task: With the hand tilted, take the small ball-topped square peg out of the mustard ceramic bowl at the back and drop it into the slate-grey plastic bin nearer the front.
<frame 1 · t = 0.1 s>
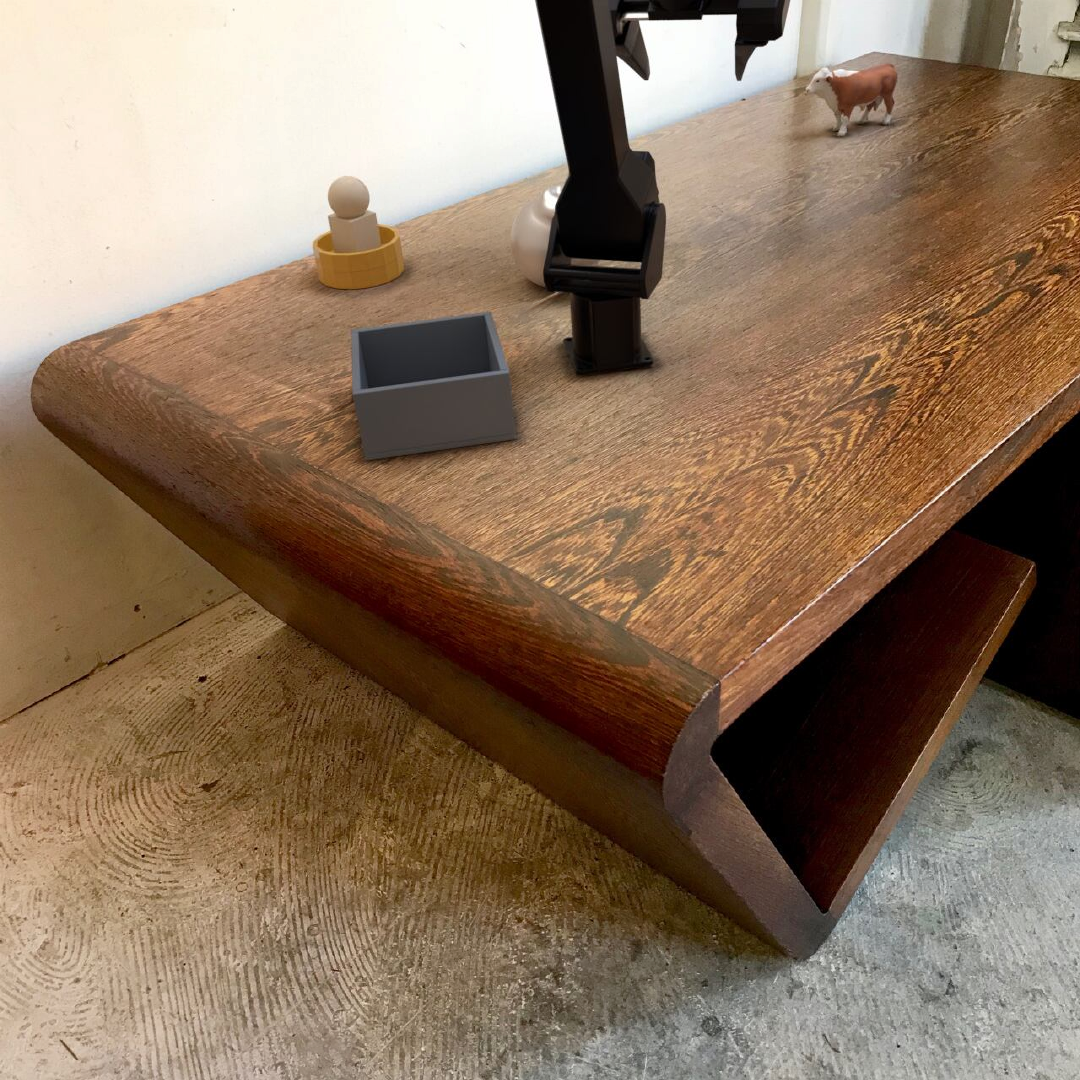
hand: (693, 77, 103), 15 cm above the table, tool tilted 35°, fingers open, 9 cm apart
bin: (435, 414, 82), on the table
ghost figurine: (562, 288, 101), on the table
bull figurine: (850, 131, 137), on the table
ball-topped square peg: (362, 272, 106), resting on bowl
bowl: (362, 277, 107), on the table
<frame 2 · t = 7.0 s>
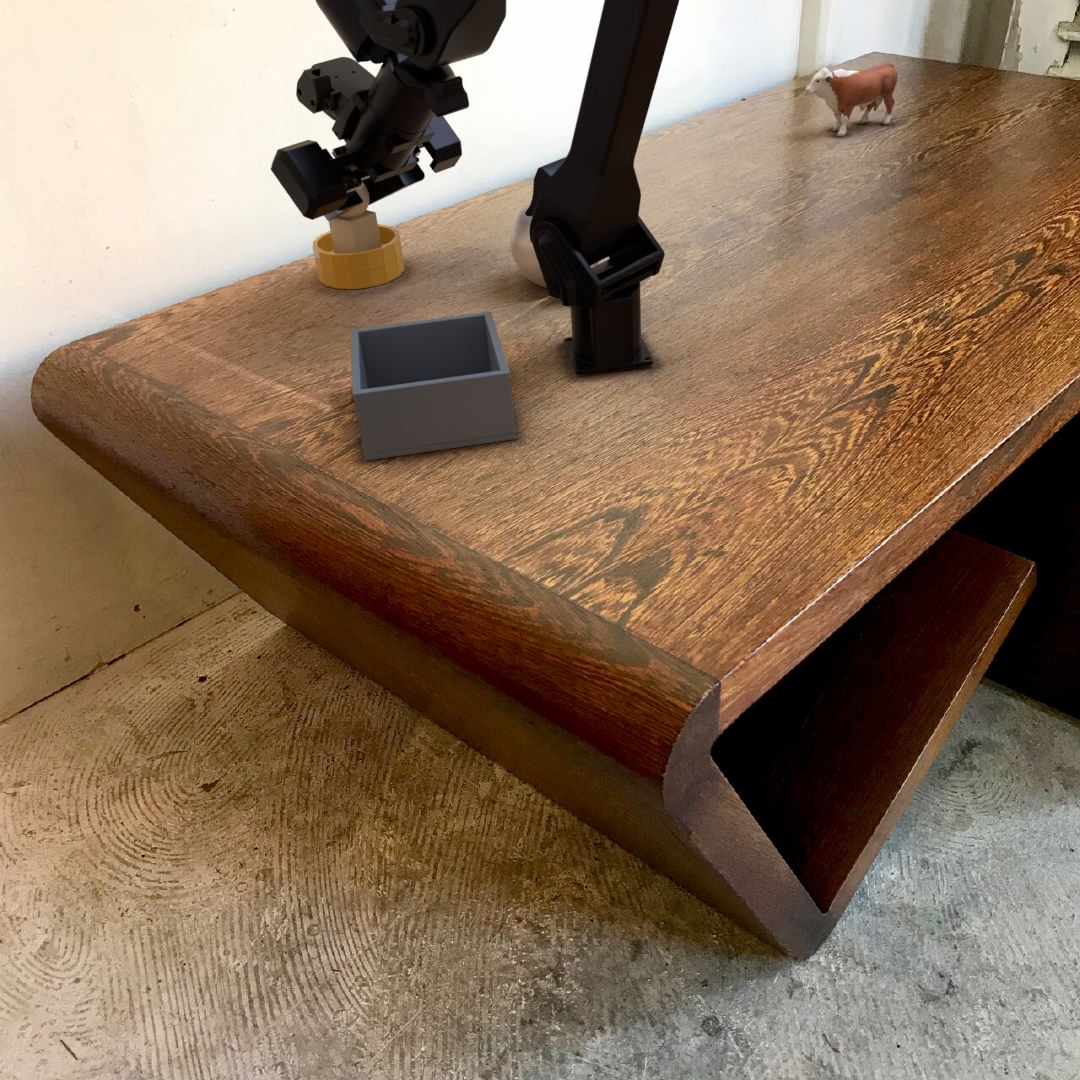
hand: (342, 210, 104), 7 cm above the table, tool tilted 45°, fingers closed on ball-topped square peg, 4 cm apart
ball-topped square peg: (362, 272, 106), point 1 cm above the table, touching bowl, gripper
everything else where it was.
when the fingers open (7 cm above the table, at t = 16.0 s): ball-topped square peg stays where it is, resting on bin.
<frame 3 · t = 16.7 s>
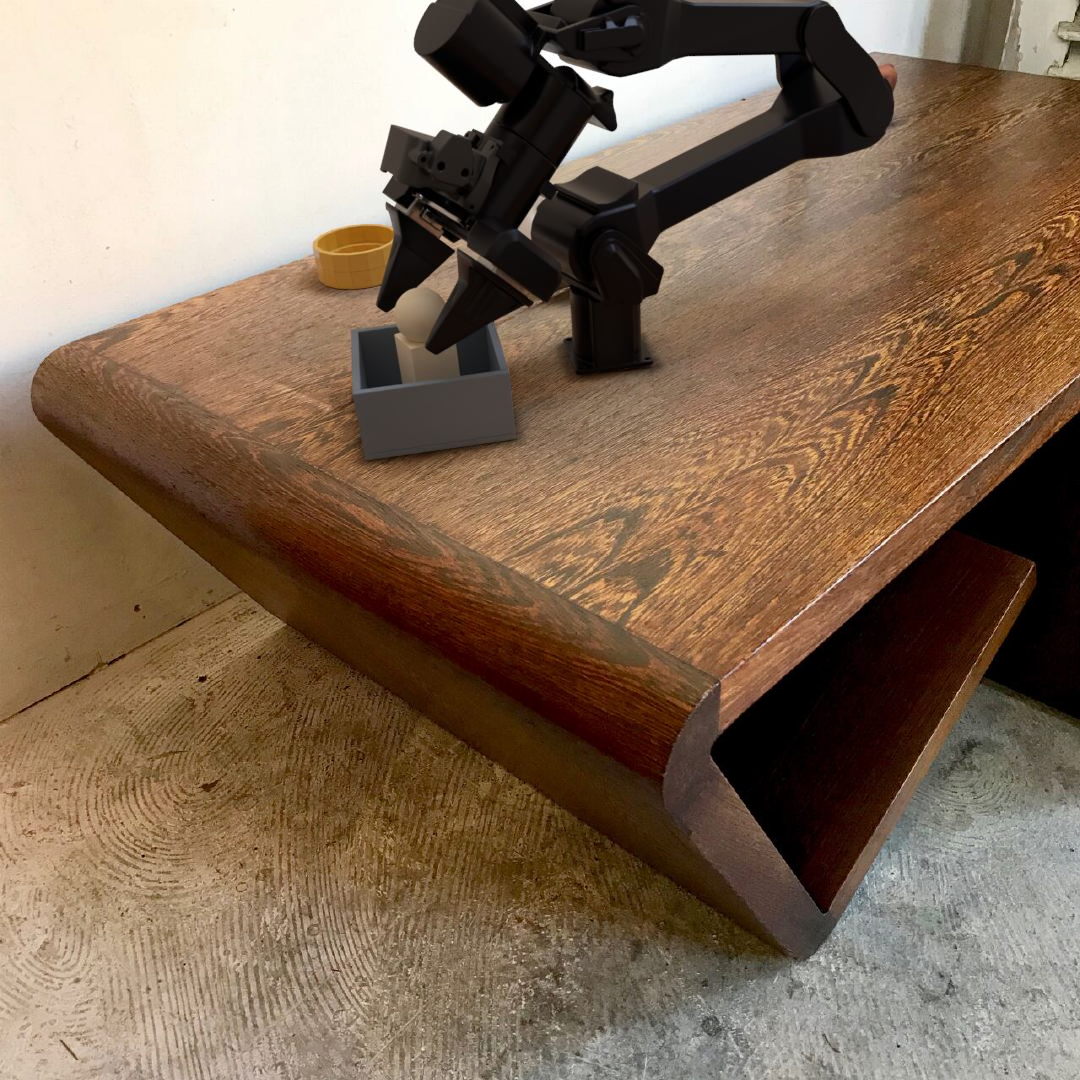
hand: (404, 329, 78), 7 cm above the table, tool tilted 45°, fingers open, 9 cm apart
ball-topped square peg: (434, 405, 82), resting on bin
everything else where it was.
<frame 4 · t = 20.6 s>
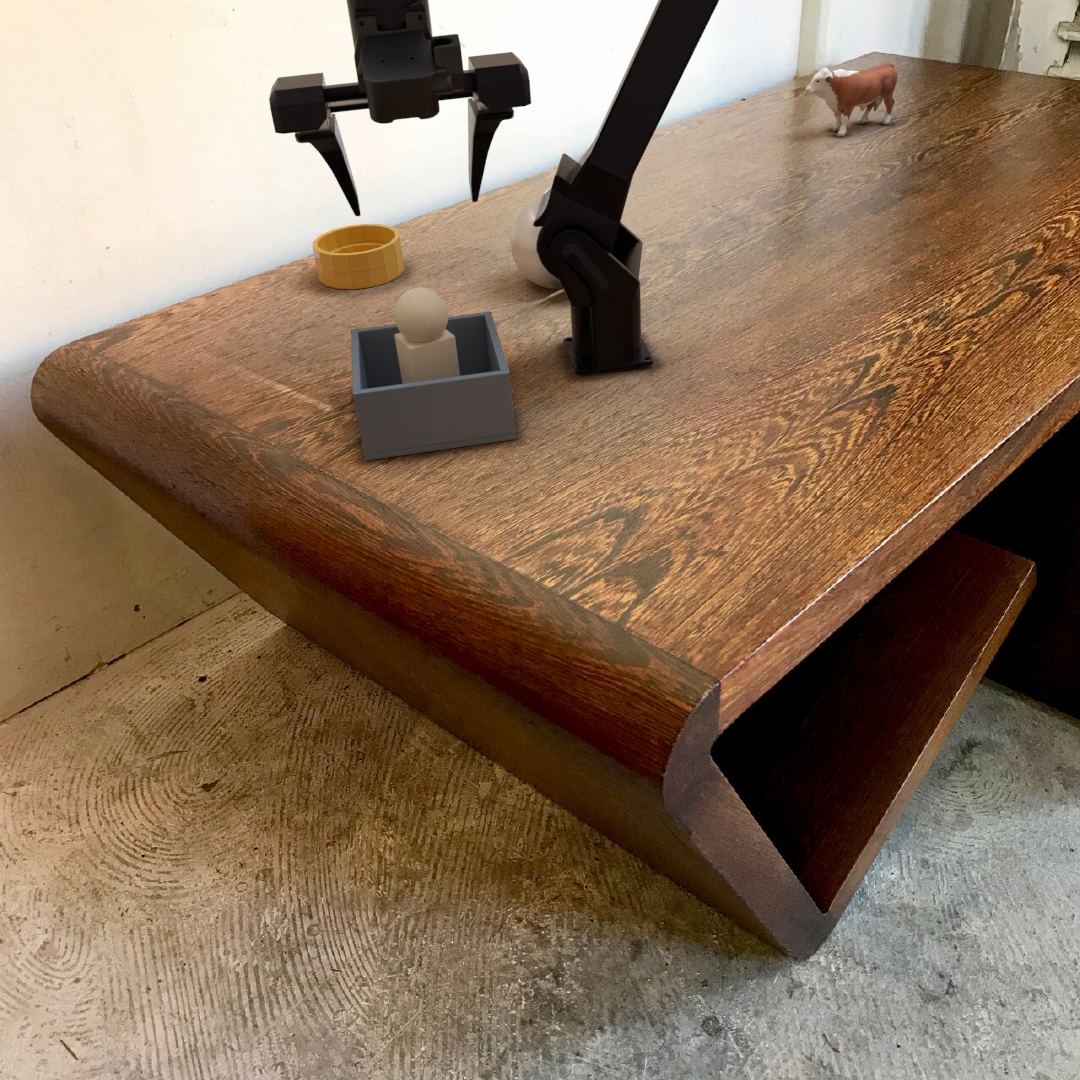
hand: (416, 207, 83), 13 cm above the table, tool pointing down, fingers open, 9 cm apart
nothing on the table moved.
at the end: ball-topped square peg inside the target area in the bin (0.5 cm from its centre), point 0.5 cm above the bin's base; ball-topped square peg moved 31.0 cm from its start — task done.
